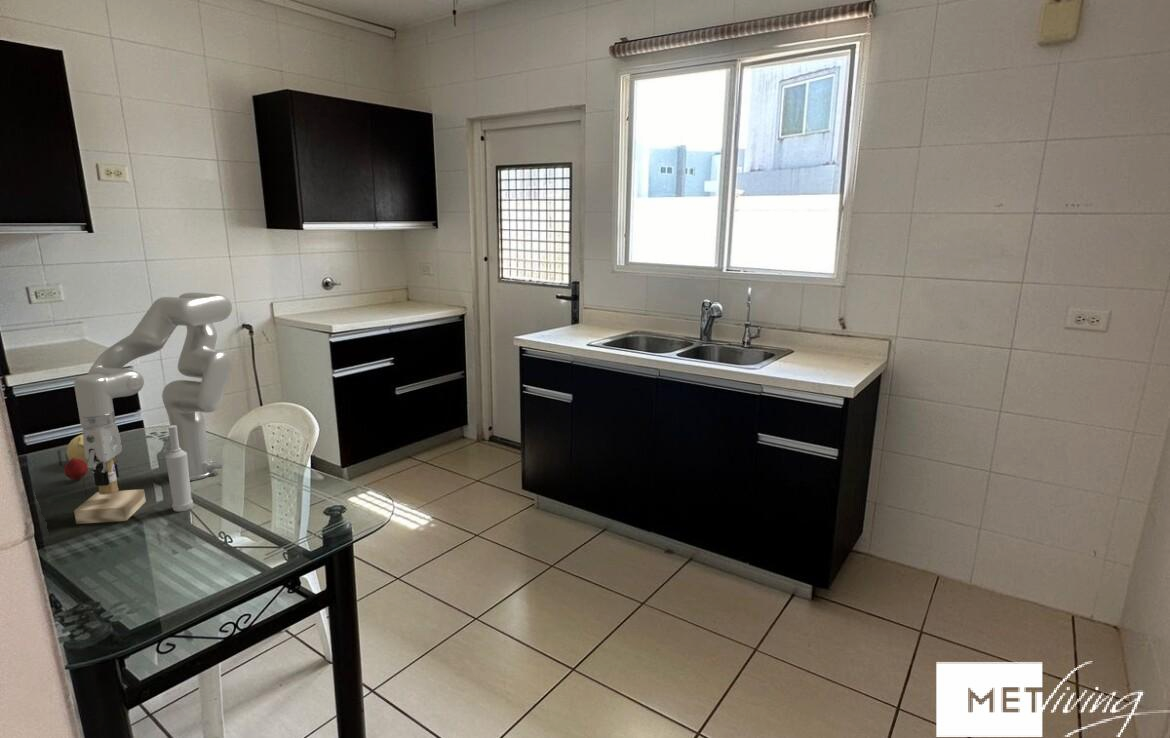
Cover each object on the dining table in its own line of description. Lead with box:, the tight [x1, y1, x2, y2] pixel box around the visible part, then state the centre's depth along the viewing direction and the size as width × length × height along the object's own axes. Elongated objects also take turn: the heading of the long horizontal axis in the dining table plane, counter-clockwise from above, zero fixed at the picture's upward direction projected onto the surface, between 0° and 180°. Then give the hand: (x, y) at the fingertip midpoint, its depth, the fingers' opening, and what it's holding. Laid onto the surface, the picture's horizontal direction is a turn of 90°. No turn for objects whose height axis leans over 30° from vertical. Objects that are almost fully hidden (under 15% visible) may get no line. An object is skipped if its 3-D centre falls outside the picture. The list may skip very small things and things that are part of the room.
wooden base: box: [73, 488, 147, 525], centre depth 176 cm, size 12×12×4 cm
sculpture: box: [66, 433, 88, 466], centre depth 208 cm, size 12×12×11 cm
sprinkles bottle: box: [96, 458, 119, 495], centre depth 173 cm, size 5×5×13 cm
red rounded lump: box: [63, 456, 89, 481], centre depth 195 cm, size 6×6×8 cm
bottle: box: [165, 425, 194, 513], centre depth 177 cm, size 5×5×25 cm
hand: (107, 480), depth 174 cm, fingers closed on sprinkles bottle, 4 cm apart
